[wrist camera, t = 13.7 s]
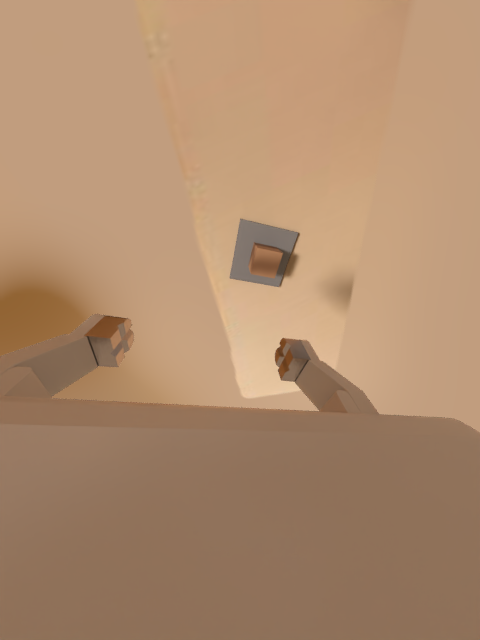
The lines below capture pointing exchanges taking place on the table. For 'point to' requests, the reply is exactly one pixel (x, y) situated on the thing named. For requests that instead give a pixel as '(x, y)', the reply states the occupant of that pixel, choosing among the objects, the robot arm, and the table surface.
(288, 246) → the slate pad
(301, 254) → the table surface
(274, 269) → the walnut cube
